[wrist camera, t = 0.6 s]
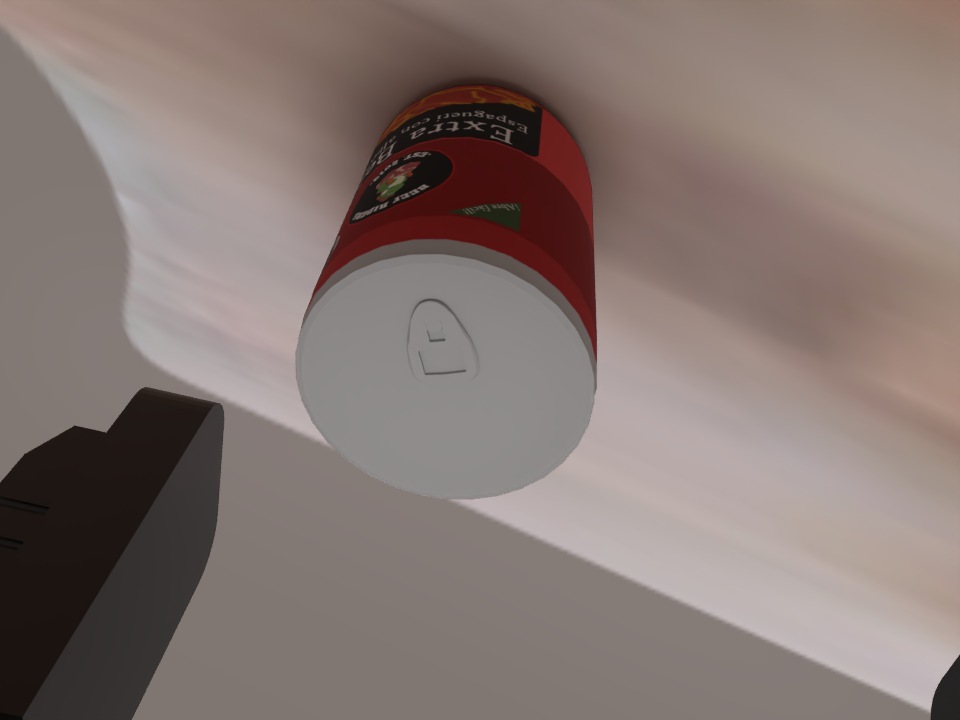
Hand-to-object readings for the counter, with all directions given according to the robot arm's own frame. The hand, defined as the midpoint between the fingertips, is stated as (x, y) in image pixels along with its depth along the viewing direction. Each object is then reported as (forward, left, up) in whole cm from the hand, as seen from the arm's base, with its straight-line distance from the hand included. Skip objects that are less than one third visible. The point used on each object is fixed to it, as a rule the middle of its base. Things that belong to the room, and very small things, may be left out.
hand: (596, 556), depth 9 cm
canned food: (+8, -2, -22) cm, 24 cm away
